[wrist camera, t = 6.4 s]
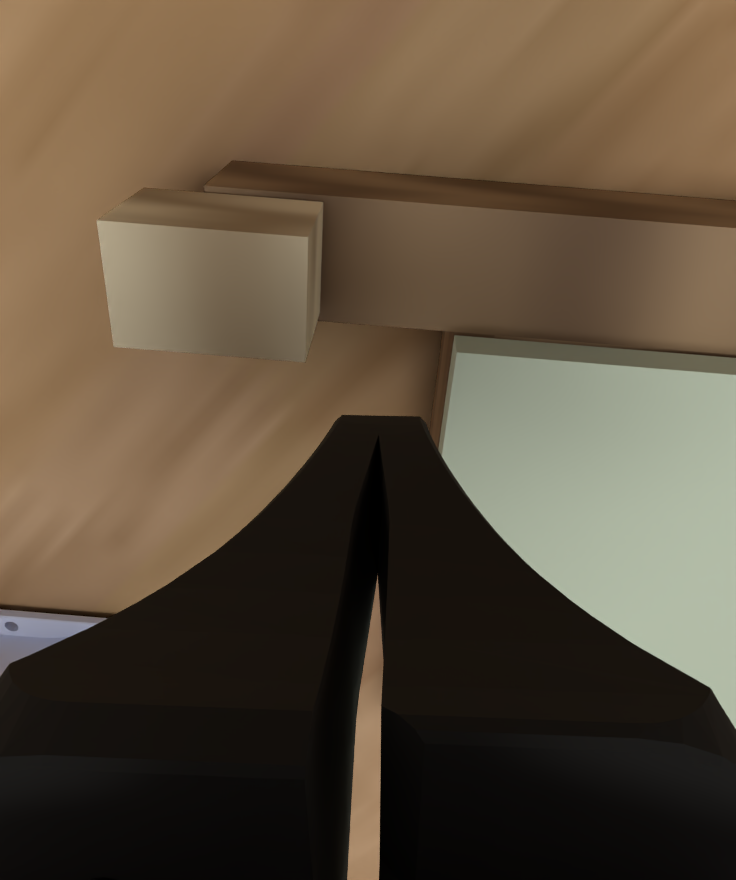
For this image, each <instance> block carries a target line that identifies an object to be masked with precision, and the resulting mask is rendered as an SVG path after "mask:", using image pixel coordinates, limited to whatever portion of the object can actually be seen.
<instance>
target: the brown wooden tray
mask: <svg viewBox="0 0 736 880" xmlns="http://www.w3.org/2000/svg"><path fill="white" fill-rule="evenodd" d="M204 193H217V194H229V195H242V196H254V197H267V198H279V199H292V200H304V201H317V202H323V230H322V261H321V292H320V314H319V317H318V321H325V322H338V323H350V324H362V325H375V326H387V327H399V328H411V329H424V330H436V331H443V332H442V340H441V347H440V355H439V363H438V370H437V378H436V385H435V393H434V401H433V408H432V416H431V423H430V431H429V432H430V435H431V437H432V439H433V441H434V443H435V445H436V447H437V449H438V448H439V441H440V433H441V426H442V419H443V412H444V405H445V398H446V391H447V384H448V377H449V370H450V363H451V356H452V348H453V341H454V335H458V336H471V337H483V338H495V339H508V340H520V341H532V342H545V343H557V344H569V345H582V346H594V347H606V348H619V349H631V350H643V351H656V352H668V353H680V354H693V355H705V356H717V357H730V358H736V201H732V200H719V199H707V198H694V197H682V196H669V195H656V194H644V193H631V192H619V191H606V190H594V189H581V188H569V187H556V186H544V185H531V184H519V183H506V182H493V181H481V180H468V179H456V178H443V177H431V176H418V175H406V174H393V173H381V172H368V171H356V170H343V169H330V168H318V167H305V166H293V165H280V164H268V163H255V162H243V161H231V162H230V163H229V164H228V165H227V166H226V167H225V168H223V169H222V170H221V171H220V172H219V173H218V174H217V175H215V176H214V177H213V178H212V179H211V180H210V181H209V182H207V183H206V184H205V185H204Z"/></svg>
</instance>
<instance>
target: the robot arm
mask: <svg viewBox="0 0 736 880" xmlns="http://www.w3.org/2000/svg"><path fill="white" fill-rule="evenodd" d="M377 575H378V584H379V599H380V614H381V629H382V644H383V659H384V666H383V686H382V704H381V795H380V869H379V880H736V729H735V727H734V725H733V724H732V722H731V721H730V719H729V717H728V716H727V714H726V713H725V711H724V709H723V708H722V706H721V705H720V703H719V701H718V700H717V698H716V696H715V694H714V693H713V691H712V689H711V688H710V687H708V686H706V685H705V684H703V683H701V682H699V681H698V680H696V679H694V678H692V677H691V676H689V675H687V674H685V673H684V672H682V671H680V670H678V669H677V668H675V667H673V666H671V665H670V664H668V663H666V662H664V661H663V660H661V659H659V658H657V657H656V656H654V655H652V654H650V653H649V652H647V651H645V650H643V649H641V648H640V647H638V646H636V645H635V644H633V643H632V642H630V641H628V640H627V639H625V638H624V637H622V636H621V635H619V634H618V633H616V632H615V631H614V630H612V629H611V628H609V627H608V626H606V625H605V624H603V623H602V622H600V621H599V620H597V619H596V618H594V617H593V616H591V615H590V614H589V613H587V612H586V611H585V610H583V609H582V608H580V607H579V606H578V605H576V604H575V603H574V602H572V601H571V600H570V599H569V598H567V597H566V596H565V595H564V594H562V593H561V592H560V591H559V590H558V589H556V588H555V587H554V586H553V585H551V584H550V583H549V582H548V581H547V580H545V579H544V578H543V577H542V576H540V575H539V574H538V573H537V572H536V571H535V570H534V569H532V568H531V567H530V566H529V565H528V564H527V563H526V562H525V561H524V560H523V559H522V558H521V557H520V556H519V555H518V554H517V553H516V552H515V551H514V550H513V549H512V548H511V547H510V546H509V545H508V544H507V543H506V542H505V541H504V540H503V538H502V537H501V536H500V535H499V534H498V533H497V532H496V531H495V529H494V528H493V527H492V526H491V525H490V524H489V522H488V521H487V520H486V519H485V518H484V516H483V515H482V514H481V513H480V511H479V510H478V509H477V508H476V506H475V505H474V504H473V502H472V501H471V500H470V498H469V497H468V496H467V494H466V493H465V492H464V490H463V489H462V487H461V486H460V484H459V483H458V481H457V480H456V478H455V477H454V475H453V474H452V472H451V471H450V469H449V468H448V466H447V464H446V463H445V461H444V459H443V458H442V456H441V454H440V452H439V450H438V449H437V447H436V445H435V443H434V441H433V439H432V437H431V435H430V432H429V430H428V427H427V424H426V423H425V422H424V421H423V420H422V419H421V418H420V417H412V416H362V415H342V416H341V417H340V418H338V419H337V420H336V421H335V422H334V424H333V426H332V427H331V429H330V430H329V432H328V433H327V435H326V436H325V438H324V439H323V441H322V442H321V443H320V445H319V446H318V447H317V449H316V450H315V451H314V453H313V454H312V455H311V457H310V458H309V459H308V460H307V462H306V463H305V464H304V465H303V466H302V468H301V469H300V470H299V471H298V472H297V474H296V475H295V476H294V477H293V478H292V480H291V481H290V482H289V483H288V484H287V485H286V486H285V487H284V489H283V490H282V491H281V492H280V493H279V494H278V495H277V496H276V497H275V498H274V499H273V500H272V501H271V502H270V503H269V504H268V505H267V506H266V507H265V508H264V509H263V510H262V511H261V512H260V513H259V514H258V515H257V516H256V517H255V518H254V519H253V520H252V521H251V522H250V523H249V524H248V525H247V526H245V527H244V528H243V529H242V530H241V531H240V532H239V533H238V534H236V535H235V536H234V537H233V538H232V539H230V540H229V541H228V542H227V543H226V544H224V545H223V546H222V547H221V548H219V549H218V550H217V551H216V552H214V553H213V554H211V555H210V556H208V557H207V558H206V559H204V560H203V561H201V562H200V563H198V564H197V565H195V566H194V567H192V568H191V569H190V570H188V571H187V572H185V573H184V574H182V575H181V576H179V577H178V578H176V579H175V580H174V581H172V582H171V583H169V584H167V585H166V586H164V587H163V588H161V589H159V590H158V591H156V592H154V593H152V594H151V595H149V596H147V597H146V598H144V599H142V600H141V601H139V602H137V603H135V604H133V605H132V606H130V607H128V608H126V609H124V610H122V611H121V612H119V613H117V614H115V615H113V616H111V617H110V618H99V617H87V616H75V615H63V614H51V613H39V612H27V611H15V610H3V609H0V880H347V870H348V851H349V833H350V815H351V797H352V779H353V762H354V745H355V728H356V716H357V707H358V698H359V690H360V684H361V677H362V671H363V665H364V658H365V652H366V646H367V639H368V633H369V627H370V620H371V614H372V607H373V601H374V595H375V588H376V582H377Z"/></svg>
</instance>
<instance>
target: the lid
mask: <svg viewBox="0 0 736 880" xmlns="http://www.w3.org/2000/svg"><path fill="white" fill-rule="evenodd" d="M438 450H439V452H440V454H441V456H442V458H443V459H444V461H445V463H446V464H447V466H448V468H449V469H450V471H451V472H452V474H453V475H454V477H455V478H456V480H457V481H458V483H459V484H460V486H461V487H462V489H463V490H464V492H465V493H466V494H467V496H468V497H469V498H470V500H471V501H472V502H473V504H474V505H475V506H476V508H477V509H478V510H479V511H480V513H481V514H482V515H483V516H484V518H485V519H486V520H487V521H488V522H489V524H490V525H491V526H492V527H493V528H494V529H495V531H496V532H497V533H498V534H499V535H500V536H501V537H502V538H503V540H504V541H505V542H506V543H507V544H508V545H509V546H510V547H511V548H512V549H513V550H514V551H515V552H516V553H517V554H518V555H519V556H520V557H521V558H522V559H523V560H524V561H525V562H526V563H527V564H528V565H529V566H530V567H531V568H532V569H534V570H535V571H536V572H537V573H538V574H539V575H540V576H542V577H543V578H544V579H545V580H547V581H548V582H549V583H550V584H551V585H553V586H554V587H555V588H556V589H558V590H559V591H560V592H561V593H562V594H564V595H565V596H566V597H567V598H569V599H570V600H571V601H572V602H574V603H575V604H576V605H578V606H579V607H580V608H582V609H583V610H585V611H586V612H587V613H589V614H590V615H591V616H593V617H594V618H596V619H597V620H599V621H600V622H602V623H603V624H605V625H606V626H608V627H609V628H611V629H612V630H614V631H615V632H616V633H618V634H619V635H621V636H622V637H624V638H625V639H627V640H628V641H630V642H632V643H633V644H635V645H636V646H638V647H640V648H641V649H643V650H645V651H647V652H649V653H650V654H652V655H654V656H656V657H657V658H659V659H661V660H663V661H664V662H666V663H668V664H670V665H671V666H673V667H675V668H677V669H678V670H680V671H682V672H684V673H685V674H687V675H689V676H691V677H692V678H694V679H696V680H698V681H699V682H701V683H703V684H705V685H706V686H708V687H710V688H711V689H712V691H713V693H714V694H715V696H716V698H717V700H718V701H719V703H720V705H721V706H722V708H723V709H724V711H725V713H726V714H727V716H728V717H729V719H730V721H731V722H732V724H733V725H734V727H735V729H736V358H730V357H717V356H705V355H693V354H680V353H668V352H656V351H643V350H631V349H619V348H606V347H594V346H582V345H569V344H557V343H545V342H532V341H520V340H508V339H495V338H483V337H471V336H458V335H454V341H453V348H452V356H451V363H450V370H449V377H448V384H447V391H446V398H445V405H444V412H443V419H442V426H441V433H440V441H439V448H438Z"/></svg>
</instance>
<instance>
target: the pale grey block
mask: <svg viewBox="0 0 736 880" xmlns="http://www.w3.org/2000/svg"><path fill="white" fill-rule="evenodd" d="M97 227H98V234H99V242H100V249H101V257H102V264H103V271H104V279H105V286H106V294H107V301H108V309H109V316H110V324H111V331H112V338H113V346H114V347H121V348H133V349H145V350H158V351H170V352H182V353H194V354H207V355H219V356H231V357H244V358H256V359H268V360H280V361H293V362H306V359H307V355H308V352H309V349H310V345H311V342H312V338H313V335H314V331H315V328H316V324H317V321H318V317H319V314H320V292H321V261H322V230H323V202H317V201H304V200H292V199H279V198H267V197H254V196H242V195H229V194H217V193H204V192H192V191H179V190H167V189H154V188H143V189H141V190H140V191H138V192H137V193H136V194H134V195H133V196H131V197H130V198H128V199H127V200H125V201H124V202H122V203H121V204H120V205H118V206H117V207H115V208H114V209H112V210H111V211H109V212H108V213H106V214H105V215H104V216H102V217H101V218H99V219H98V220H97Z"/></svg>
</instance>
